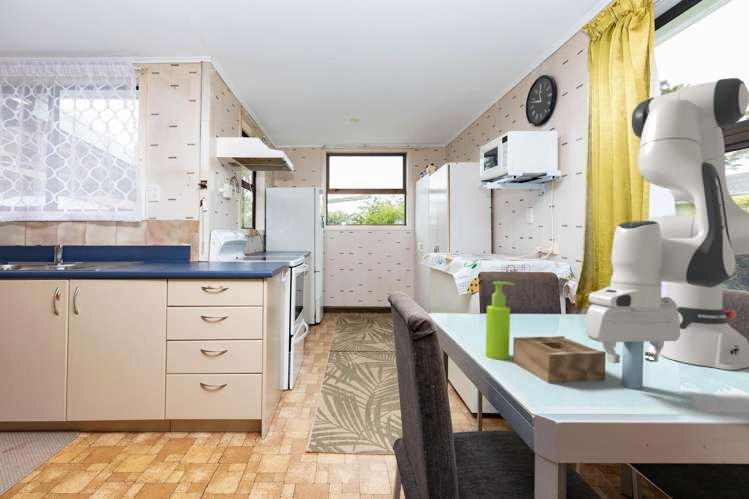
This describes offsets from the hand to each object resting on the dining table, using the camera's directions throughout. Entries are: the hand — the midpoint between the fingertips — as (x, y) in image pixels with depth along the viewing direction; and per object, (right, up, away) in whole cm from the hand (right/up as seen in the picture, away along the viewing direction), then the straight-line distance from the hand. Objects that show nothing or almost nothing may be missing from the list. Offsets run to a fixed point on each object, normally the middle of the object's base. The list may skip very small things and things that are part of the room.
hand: (632, 361), depth 78 cm
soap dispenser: (-21, -5, +20) cm, 30 cm away
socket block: (-12, -5, +9) cm, 16 cm away
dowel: (0, -5, 0) cm, 5 cm away
